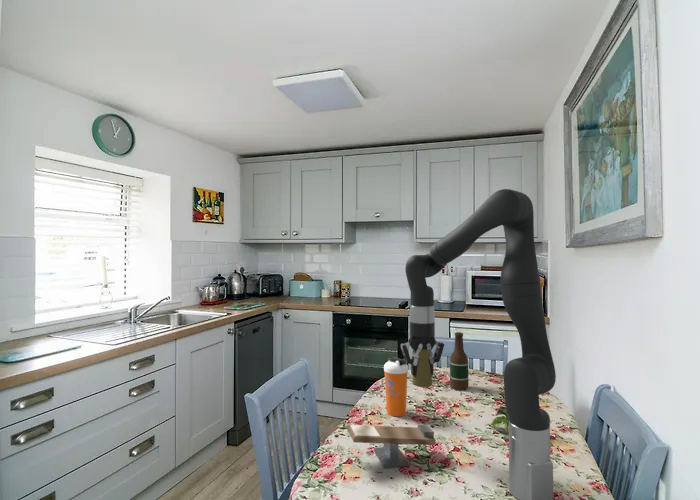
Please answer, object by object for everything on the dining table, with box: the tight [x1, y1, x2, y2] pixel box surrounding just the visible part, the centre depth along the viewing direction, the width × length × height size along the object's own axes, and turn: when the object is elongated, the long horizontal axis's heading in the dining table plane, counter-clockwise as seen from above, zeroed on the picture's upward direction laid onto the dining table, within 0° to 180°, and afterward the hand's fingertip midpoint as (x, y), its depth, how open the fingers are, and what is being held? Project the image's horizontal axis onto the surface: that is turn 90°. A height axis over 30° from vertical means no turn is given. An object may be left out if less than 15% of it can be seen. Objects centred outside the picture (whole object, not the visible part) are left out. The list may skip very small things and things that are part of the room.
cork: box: [411, 349, 433, 388], centre depth 123 cm, size 6×6×11 cm
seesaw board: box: [346, 424, 437, 446], centre depth 116 cm, size 24×8×3 cm, turn 103°
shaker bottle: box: [383, 356, 409, 418], centre depth 149 cm, size 9×9×20 cm
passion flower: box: [490, 404, 509, 433], centre depth 133 cm, size 11×11×12 cm
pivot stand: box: [373, 443, 410, 470], centre depth 116 cm, size 10×7×6 cm
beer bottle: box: [449, 331, 469, 391], centre depth 176 cm, size 8×8×24 cm
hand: (422, 376), depth 123 cm, fingers closed on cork, 4 cm apart
